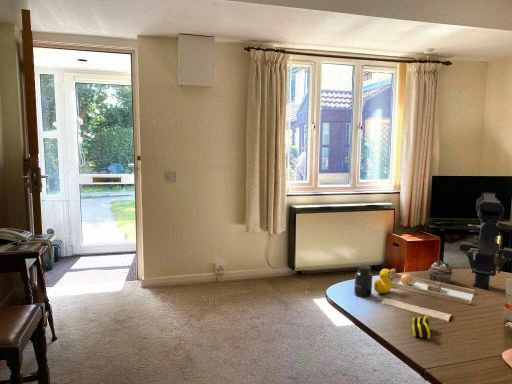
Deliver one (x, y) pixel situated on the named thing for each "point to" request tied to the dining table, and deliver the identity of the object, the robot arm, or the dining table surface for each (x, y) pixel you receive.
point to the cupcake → (440, 272)
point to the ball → (406, 279)
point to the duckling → (384, 281)
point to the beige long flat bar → (416, 309)
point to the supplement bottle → (363, 281)
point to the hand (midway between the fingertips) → (485, 270)
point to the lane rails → (432, 293)
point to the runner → (443, 290)
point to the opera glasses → (421, 327)
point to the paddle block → (434, 286)
